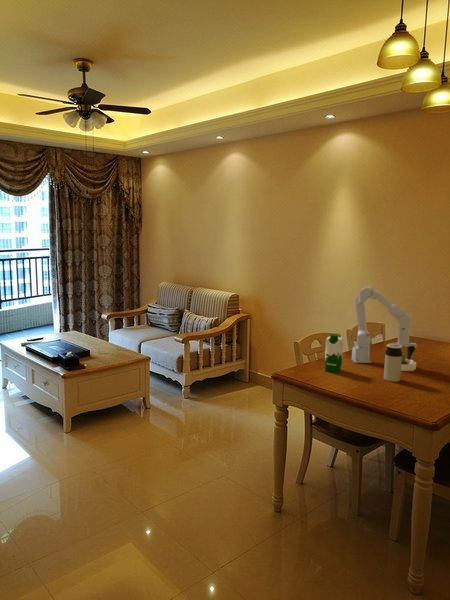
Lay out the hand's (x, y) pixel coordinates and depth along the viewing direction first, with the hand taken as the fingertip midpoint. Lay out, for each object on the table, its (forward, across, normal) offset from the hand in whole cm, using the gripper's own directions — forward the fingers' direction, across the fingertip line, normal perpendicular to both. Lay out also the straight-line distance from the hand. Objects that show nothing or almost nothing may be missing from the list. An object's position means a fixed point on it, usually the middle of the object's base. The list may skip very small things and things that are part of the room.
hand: (401, 359), depth 261 cm
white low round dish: (+5, 0, 0) cm, 5 cm away
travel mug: (+5, -15, -22) cm, 27 cm away
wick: (+4, 0, 0) cm, 4 cm away
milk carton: (+5, -41, -6) cm, 42 cm away
